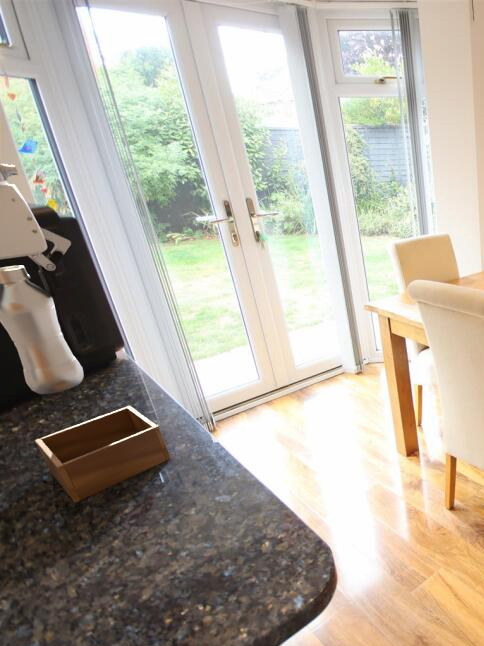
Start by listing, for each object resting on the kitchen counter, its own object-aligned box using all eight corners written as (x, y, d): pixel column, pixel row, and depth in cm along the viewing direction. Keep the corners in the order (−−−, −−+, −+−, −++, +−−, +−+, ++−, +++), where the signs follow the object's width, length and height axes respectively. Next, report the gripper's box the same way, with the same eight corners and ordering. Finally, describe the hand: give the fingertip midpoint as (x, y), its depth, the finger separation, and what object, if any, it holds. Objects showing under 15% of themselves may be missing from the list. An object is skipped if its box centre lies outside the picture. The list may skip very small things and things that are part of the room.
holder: (51, 473, 70) (34, 440, 67) (142, 436, 78) (129, 405, 76) (75, 503, 63) (57, 467, 61) (171, 458, 72) (158, 426, 70)
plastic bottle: (33, 390, 75) (-27, 269, 67) (87, 376, 79) (37, 261, 71) (33, 403, 71) (-30, 276, 63) (90, 388, 75) (38, 267, 67)
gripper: (42, 172, 71) (87, 285, 78) (-142, 179, 58) (-69, 314, 65) (56, 172, 67) (102, 291, 74) (-138, 180, 54) (-61, 323, 61)
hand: (21, 300), depth 69 cm, fingers closed on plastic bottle, 6 cm apart
